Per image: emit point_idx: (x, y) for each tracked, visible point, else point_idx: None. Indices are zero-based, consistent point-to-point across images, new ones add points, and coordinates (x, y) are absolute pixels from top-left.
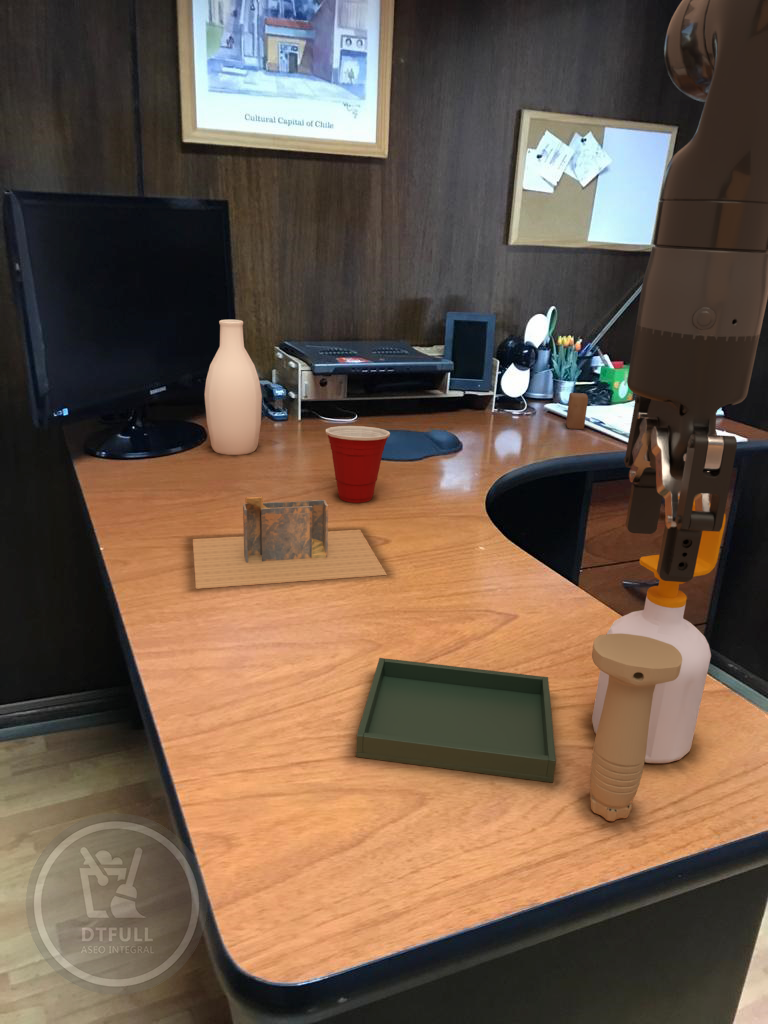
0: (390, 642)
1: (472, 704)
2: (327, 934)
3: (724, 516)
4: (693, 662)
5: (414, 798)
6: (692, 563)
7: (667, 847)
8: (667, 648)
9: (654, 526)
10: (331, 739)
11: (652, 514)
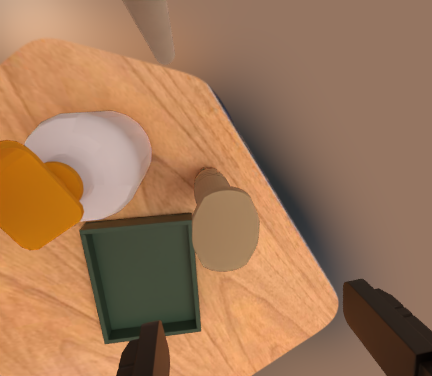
0: (56, 336)
1: (124, 271)
2: (316, 296)
3: None
4: (121, 140)
5: (226, 283)
6: (403, 308)
7: (233, 144)
8: (213, 203)
9: (159, 330)
10: (187, 334)
11: (158, 359)
